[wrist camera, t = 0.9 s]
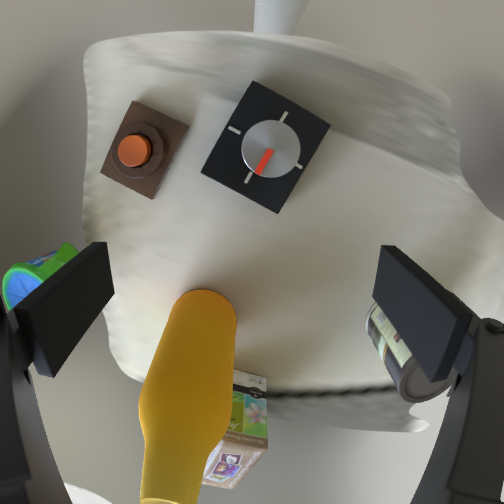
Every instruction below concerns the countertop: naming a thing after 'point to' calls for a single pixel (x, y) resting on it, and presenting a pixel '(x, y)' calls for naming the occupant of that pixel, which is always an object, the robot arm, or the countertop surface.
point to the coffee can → (402, 361)
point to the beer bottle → (187, 397)
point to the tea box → (240, 434)
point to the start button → (134, 150)
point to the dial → (270, 148)
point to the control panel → (230, 141)
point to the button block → (162, 149)
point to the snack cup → (33, 274)
